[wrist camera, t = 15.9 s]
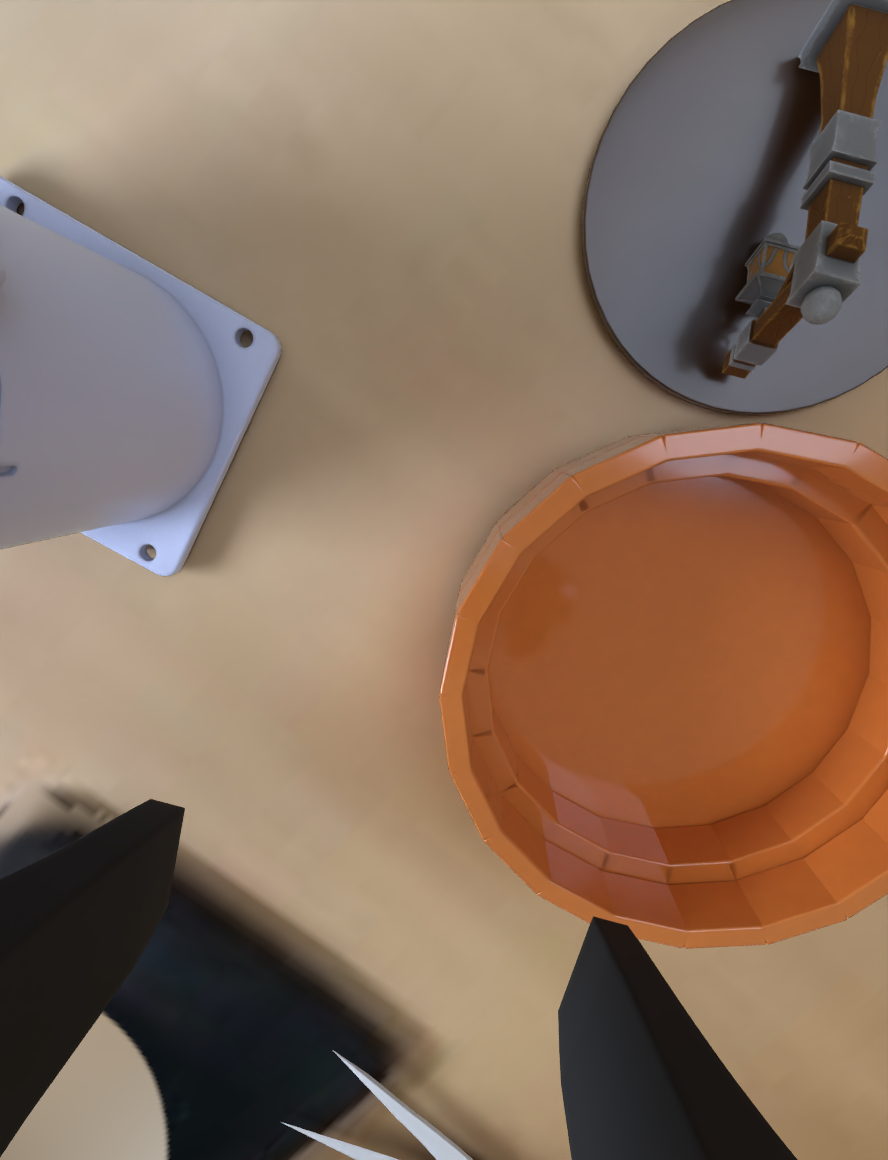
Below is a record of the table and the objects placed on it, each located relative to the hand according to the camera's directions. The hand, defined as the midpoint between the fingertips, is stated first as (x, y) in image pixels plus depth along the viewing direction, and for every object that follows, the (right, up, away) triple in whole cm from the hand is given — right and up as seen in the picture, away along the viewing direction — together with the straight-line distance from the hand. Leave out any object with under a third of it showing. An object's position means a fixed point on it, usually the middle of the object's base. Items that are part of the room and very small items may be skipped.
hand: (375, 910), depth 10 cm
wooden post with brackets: (+10, +15, +5) cm, 19 cm away
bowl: (+8, +3, +8) cm, 12 cm away
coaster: (+10, +15, +6) cm, 19 cm away
